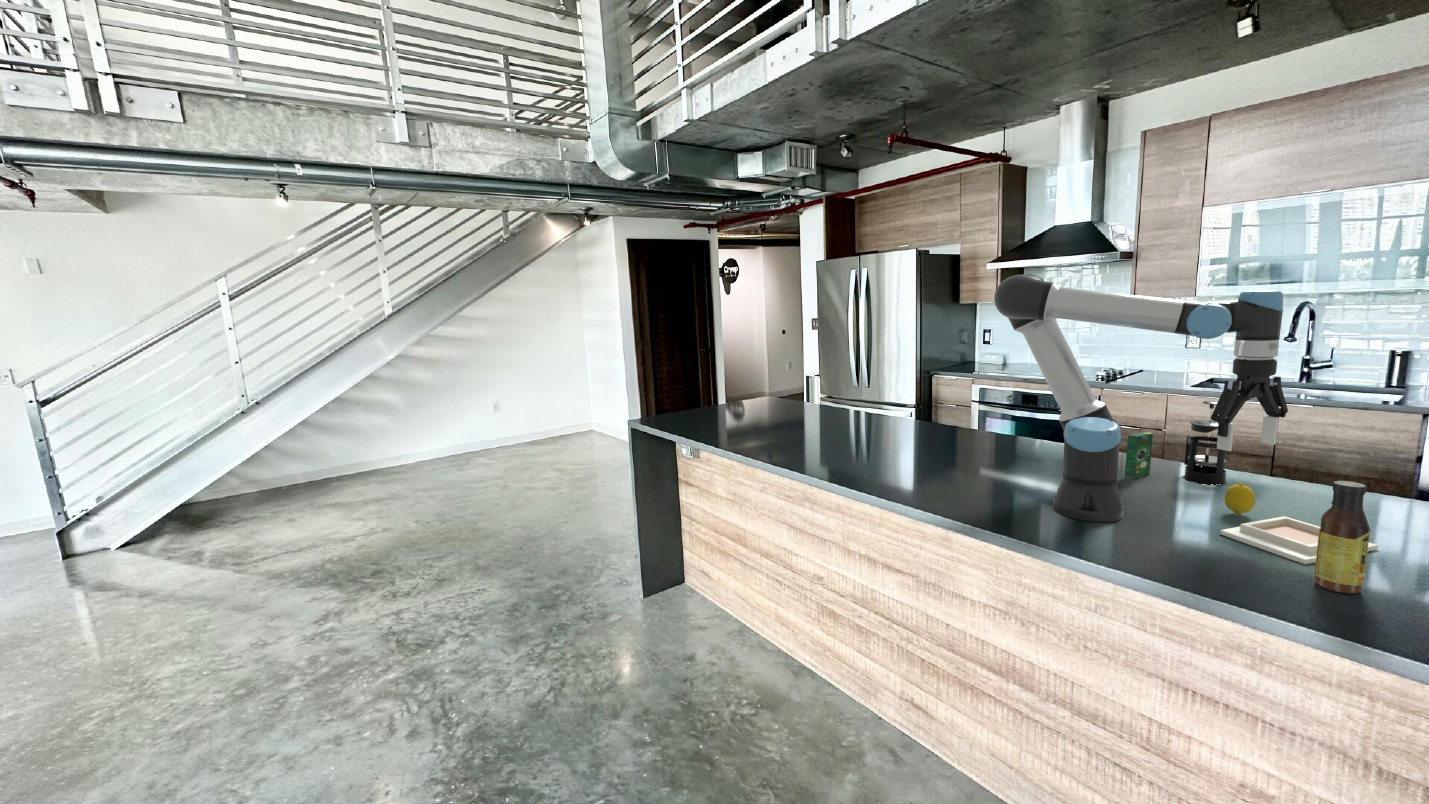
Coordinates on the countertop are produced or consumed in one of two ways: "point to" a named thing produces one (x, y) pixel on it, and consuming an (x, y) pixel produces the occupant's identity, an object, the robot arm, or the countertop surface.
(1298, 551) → the tray
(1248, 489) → the lemon
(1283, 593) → the countertop surface
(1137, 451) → the coffee box
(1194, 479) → the french press
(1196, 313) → the robot arm
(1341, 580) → the sauce bottle
